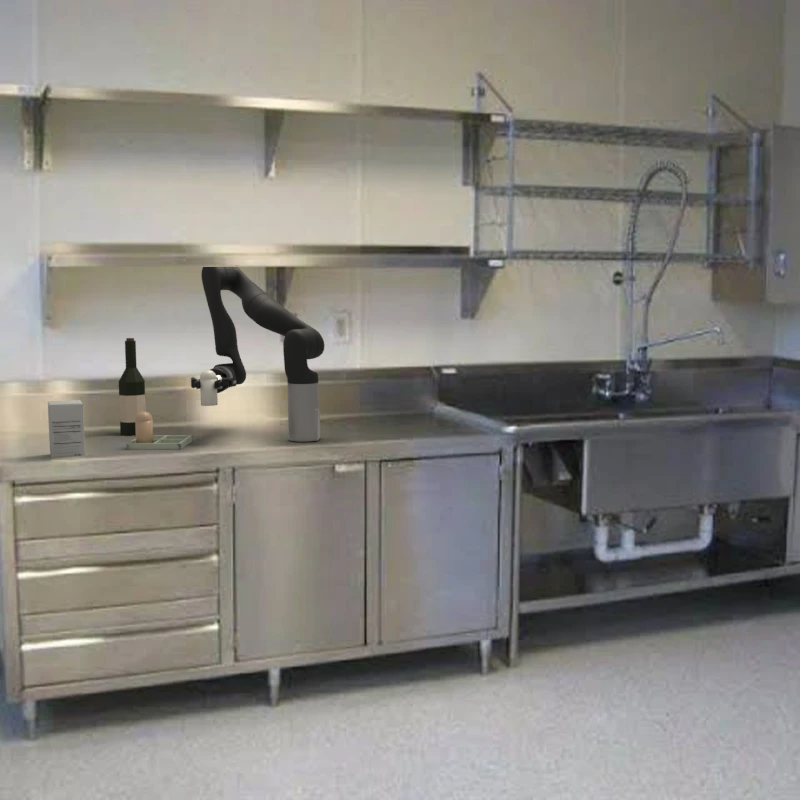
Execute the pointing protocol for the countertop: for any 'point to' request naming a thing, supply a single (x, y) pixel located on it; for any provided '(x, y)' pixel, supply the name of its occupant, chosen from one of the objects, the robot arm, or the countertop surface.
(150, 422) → the tan dome-topped cylinder
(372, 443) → the countertop surface
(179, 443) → the green rectangular open tray
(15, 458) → the countertop surface
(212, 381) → the white dome-topped cylinder
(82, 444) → the supplement box
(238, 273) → the robot arm
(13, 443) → the countertop surface
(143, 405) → the wine bottle
